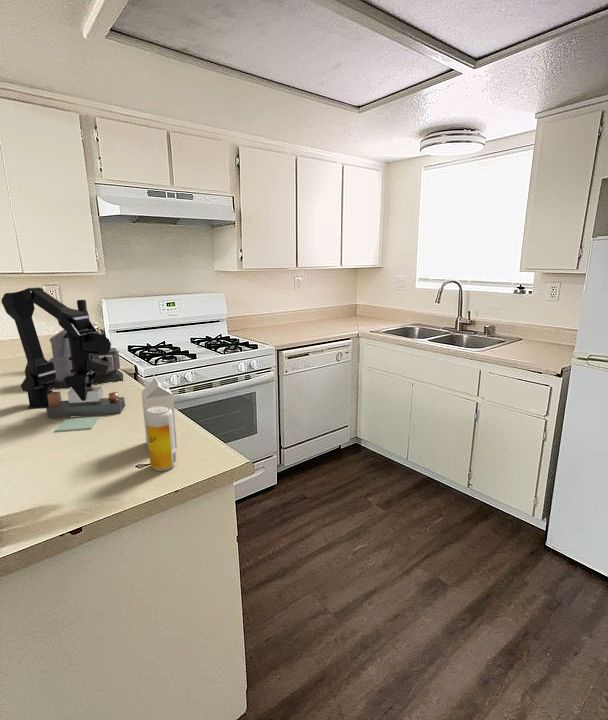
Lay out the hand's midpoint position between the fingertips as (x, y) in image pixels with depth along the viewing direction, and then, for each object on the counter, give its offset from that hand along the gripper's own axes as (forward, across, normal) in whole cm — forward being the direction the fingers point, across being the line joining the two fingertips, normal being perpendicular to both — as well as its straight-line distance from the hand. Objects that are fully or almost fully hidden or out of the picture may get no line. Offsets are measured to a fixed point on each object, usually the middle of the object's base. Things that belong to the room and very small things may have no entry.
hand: (86, 398), depth 137 cm
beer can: (+5, -44, -29) cm, 53 cm away
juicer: (+5, +39, +12) cm, 41 cm away
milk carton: (+5, -31, -27) cm, 41 cm away
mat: (+5, -11, 0) cm, 12 cm away
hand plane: (+5, 0, 0) cm, 5 cm away
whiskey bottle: (+5, +63, +16) cm, 65 cm away
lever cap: (0, 0, 0) cm, 0 cm away
